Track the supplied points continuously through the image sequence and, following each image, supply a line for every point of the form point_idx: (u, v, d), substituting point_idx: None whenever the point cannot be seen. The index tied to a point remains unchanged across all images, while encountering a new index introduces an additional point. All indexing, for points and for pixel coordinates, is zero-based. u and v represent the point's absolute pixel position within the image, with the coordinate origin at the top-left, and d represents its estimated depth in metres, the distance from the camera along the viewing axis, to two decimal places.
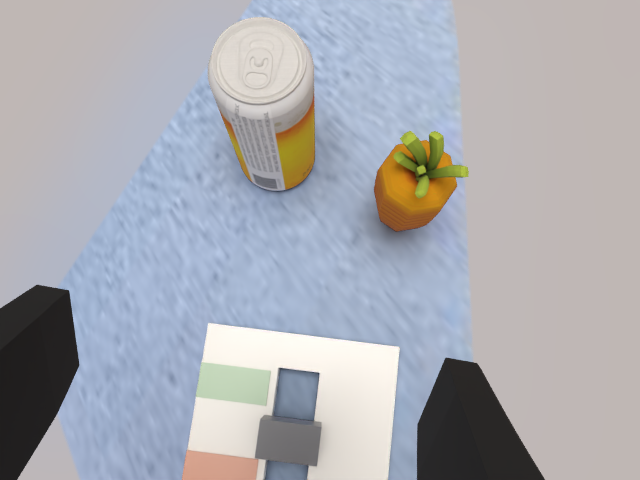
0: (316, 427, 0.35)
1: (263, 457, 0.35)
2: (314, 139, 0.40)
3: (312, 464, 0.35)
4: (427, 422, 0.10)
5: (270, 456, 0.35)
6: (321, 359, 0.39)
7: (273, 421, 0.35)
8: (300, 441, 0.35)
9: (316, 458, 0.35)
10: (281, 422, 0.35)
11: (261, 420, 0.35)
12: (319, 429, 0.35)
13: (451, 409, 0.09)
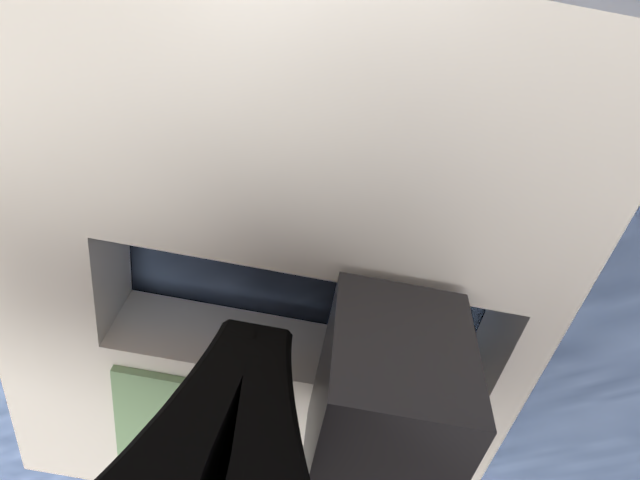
0: (328, 419, 0.08)
1: None
2: None
3: (484, 444, 0.08)
4: None
5: None
6: (39, 228, 0.10)
7: None
8: (382, 468, 0.08)
9: (462, 433, 0.08)
10: None
11: None
12: (337, 412, 0.08)
13: None
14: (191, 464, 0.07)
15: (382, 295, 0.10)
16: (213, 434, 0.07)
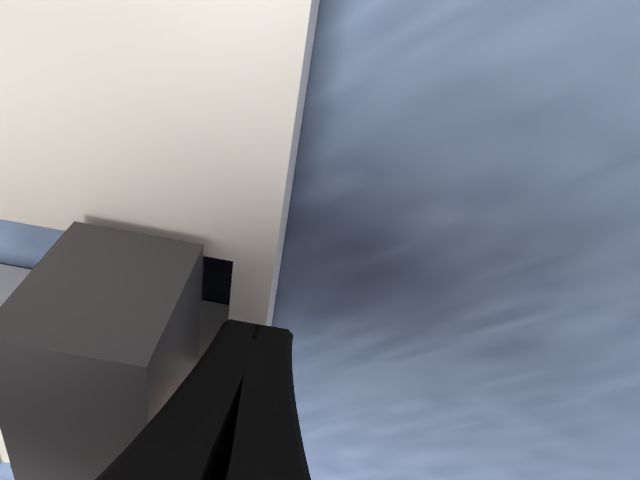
0: None
1: None
2: None
3: (141, 379, 0.08)
4: None
5: None
6: None
7: (15, 464, 0.09)
8: (60, 408, 0.08)
9: (111, 367, 0.08)
10: (11, 445, 0.09)
11: None
12: None
13: None
14: (192, 464, 0.07)
15: (107, 243, 0.10)
16: (213, 434, 0.07)
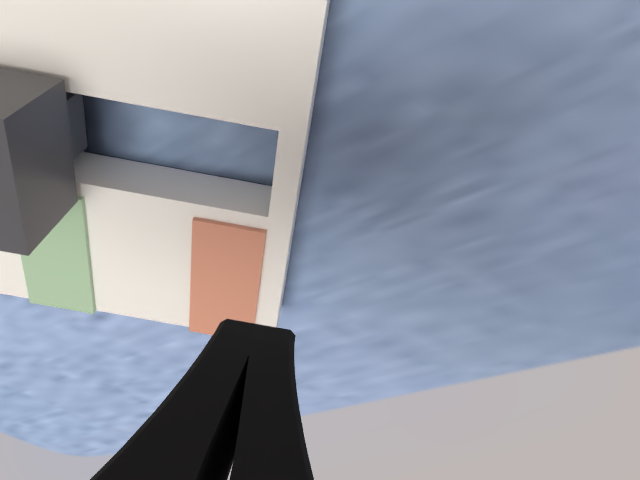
0: None
1: (20, 239, 0.15)
2: None
3: (2, 131, 0.13)
4: None
5: (13, 225, 0.14)
6: None
7: None
8: None
9: None
10: None
11: None
12: None
13: (246, 373, 0.09)
14: (188, 463, 0.07)
15: None
16: (210, 433, 0.07)
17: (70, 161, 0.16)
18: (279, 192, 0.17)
